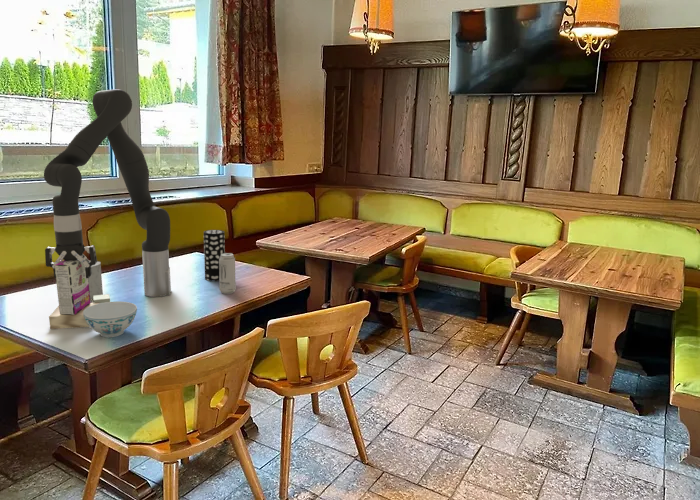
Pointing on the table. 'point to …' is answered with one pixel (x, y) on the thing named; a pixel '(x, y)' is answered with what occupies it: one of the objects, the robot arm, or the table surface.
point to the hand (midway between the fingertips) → (73, 278)
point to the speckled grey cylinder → (95, 280)
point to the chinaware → (110, 317)
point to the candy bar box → (72, 287)
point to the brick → (101, 298)
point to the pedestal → (68, 319)
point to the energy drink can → (227, 273)
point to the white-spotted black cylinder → (213, 253)
